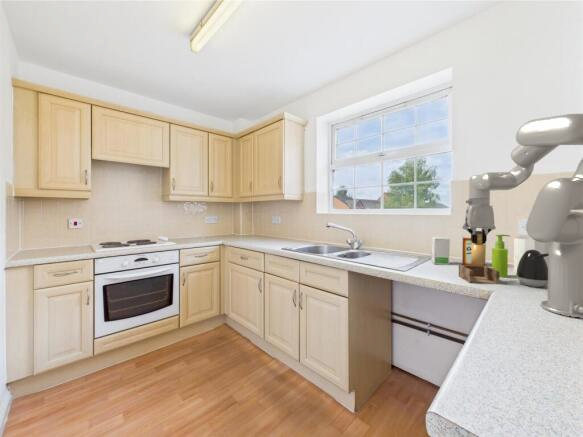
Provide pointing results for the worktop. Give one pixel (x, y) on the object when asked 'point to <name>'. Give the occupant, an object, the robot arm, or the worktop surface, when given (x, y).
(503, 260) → the soap dispenser
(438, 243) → the skincare box
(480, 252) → the amber bottle
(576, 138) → the robot arm
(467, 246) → the baking soda box
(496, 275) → the open wooden box
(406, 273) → the worktop surface
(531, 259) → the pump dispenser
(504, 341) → the worktop surface
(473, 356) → the worktop surface
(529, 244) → the container
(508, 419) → the worktop surface
